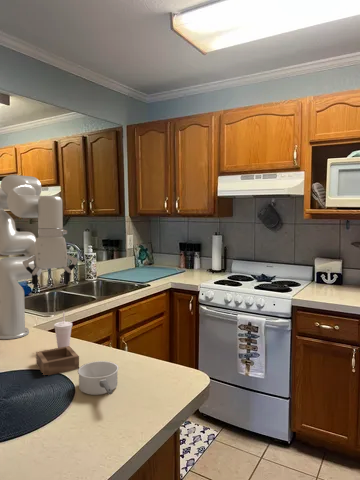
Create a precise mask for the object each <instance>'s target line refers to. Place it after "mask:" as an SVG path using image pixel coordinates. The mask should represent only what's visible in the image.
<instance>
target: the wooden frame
mask: <svg viewBox="0 0 360 480" xmlns="http://www.w3.org/2000/svg"><path fill="white" fill-rule="evenodd" d="M35 354H36V357H35V358H36V361H35V363H36V366H37V367H38V369H39V370H40V373H43V374H42V375H48V376H51V375H57V374H60V373H65V372H70V371H74V370H78V369H79V368H80V355H78V353H77V352H76V351H75V350H74V349H73V348H72V347H71V346H70V345H69V346H66V347H61V348H58V347H56V348H51V349H45V350H39V351H36V352H35Z"/></svg>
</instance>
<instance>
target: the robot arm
mask: <svg viewBox="0 0 360 480" xmlns="http://www.w3.org/2000/svg"><path fill="white" fill-rule="evenodd" d="M42 191H43V190H42V183H41V181H40V180H39V179H38V178H37V177H35V176H30V175H29V176H28V175H19V174H18V175H17V174H10V175H6V176H4V177H3V178H2V179H1V182H0V255H2V256H8V257H4V258H0V340H12V339H17V338H21V337H22V338H23V337H25V336H27V335H28V334H29V333H30V329H29V328H28V327H26V324H25V323H26V321H25V320H26V318H25V317H26V314H25V311H26V310H25V306H26V304H25V290H24V287H23V286H21V284H20V283H19V282H18V281H22V280H30V279H31V285H33V286H34V288H38V287H39V284H38V283H39V277H40V276H41V274H42V272H43V271H42V270H43V269H44V270H46V269H49V270H50V269H60V268H62V269H63V270H64V272H63V284H65V285H67V286H68V285H69V282H70V279H71V277H70V276H71V275H70V273H72V272H71V271H73V270H74V268H75V267H76V265H77V262H78V258H76V257H74V256H72V255H69V254H68V250H67V242H66V239H65V237H64V236H65V235H67V234H68V230H65V229H64V227H63V221H64V220H63V216H64V215H63V199H62V197H60V196H56V195H41V193H42ZM5 210H9V211H10V212H11V213H12V214H13V215H14V216H15V217H18V218H23V219H27V218H29V219H30V218H31V219H32V218H33V219H34V218H36V219H38V220H37V221H38V222H37V224H38V226H37V227H38V231H37V232H38V236H37V237H36V235H35V234H34V233H33V232H31V231H18V230H17V228H16V223H15V220H14V219H13V217H12V216H11V215H10V213H8V212H7V211H5ZM12 255H13V256H12ZM14 255H23V256H14ZM9 256H11V257H9ZM68 260H70V261H71V263H70V264H69V265H68V263H69V262H68Z"/></svg>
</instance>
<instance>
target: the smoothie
mask: <svg viewBox="0 0 360 480" xmlns="http://www.w3.org/2000/svg"><path fill="white" fill-rule="evenodd" d="M65 314H66V313H65V311H63V312H62V321H59V322H56V323H54V324H53V328H54V331H55V338H56V345H57V348H61V347H66V346H70V343H71V336H72V335H71V334H72V327H73V322H72V321H66V320H65V319H66V318H65V317H66V315H65Z"/></svg>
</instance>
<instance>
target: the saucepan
mask: <svg viewBox="0 0 360 480" xmlns="http://www.w3.org/2000/svg"><path fill="white" fill-rule="evenodd" d="M119 369H120V367H119V365H118V364H116V363H115V362H112V361H107V360H97V361H90V362H88V363H84V364H83V365H81V366H79V369H77V375H78V387H79V390H80V391H81V392H82V393H84V394H88V395H90V396H91V395H92V396H99V395H104V394H105V395H106V394H108V395H109V396H111V395H112V394H113V390H114V389H116V388H117V386H118V371H119Z"/></svg>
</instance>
